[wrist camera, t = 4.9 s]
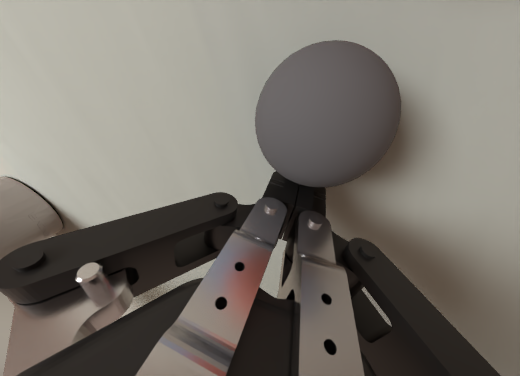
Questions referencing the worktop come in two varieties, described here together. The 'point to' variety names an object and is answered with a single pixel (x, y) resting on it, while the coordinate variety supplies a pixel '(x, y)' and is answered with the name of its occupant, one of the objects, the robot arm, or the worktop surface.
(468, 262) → the worktop surface
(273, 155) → the grey smooth round ball
